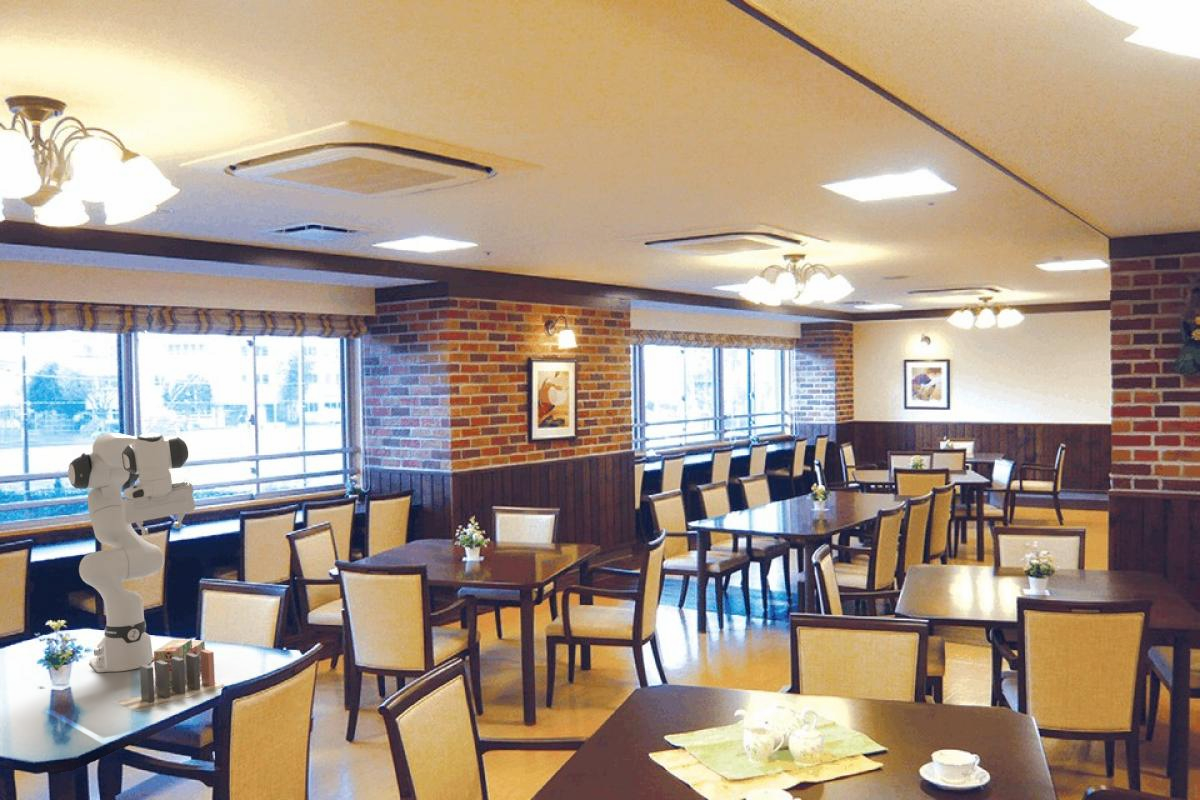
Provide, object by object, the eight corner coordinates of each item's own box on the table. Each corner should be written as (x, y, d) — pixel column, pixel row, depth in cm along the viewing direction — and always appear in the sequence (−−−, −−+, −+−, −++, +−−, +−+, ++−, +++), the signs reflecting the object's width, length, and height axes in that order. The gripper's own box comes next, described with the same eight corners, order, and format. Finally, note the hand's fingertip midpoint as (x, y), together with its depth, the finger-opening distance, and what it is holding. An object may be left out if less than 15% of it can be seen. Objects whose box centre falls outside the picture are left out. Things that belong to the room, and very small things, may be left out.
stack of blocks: (187, 669, 311) (185, 631, 311) (206, 668, 311) (204, 631, 311) (155, 691, 290) (153, 650, 290) (175, 690, 290) (173, 650, 289)
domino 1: (149, 703, 275) (147, 668, 275) (141, 699, 278) (139, 665, 278) (154, 701, 276) (153, 667, 276) (147, 698, 279) (145, 664, 279)
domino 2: (164, 698, 278) (163, 664, 278) (157, 695, 282) (155, 661, 281) (170, 697, 280) (168, 663, 279) (162, 693, 283) (161, 660, 283)
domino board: (117, 706, 277) (117, 701, 277) (204, 682, 297) (204, 678, 296) (136, 715, 268) (136, 711, 268) (225, 690, 288) (225, 686, 288)
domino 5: (209, 686, 288) (208, 653, 288) (201, 683, 292) (200, 650, 291) (214, 685, 290) (213, 652, 289) (206, 681, 293) (205, 649, 293)
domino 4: (195, 690, 285) (193, 657, 285) (187, 687, 288) (185, 654, 288) (200, 689, 286) (198, 655, 286) (192, 685, 290) (191, 652, 289)
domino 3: (180, 694, 282) (178, 660, 281) (172, 691, 285) (170, 657, 285) (185, 693, 283) (183, 659, 283) (177, 689, 286) (176, 656, 286)
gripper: (188, 479, 299) (194, 522, 301) (117, 491, 286) (123, 536, 288) (195, 482, 294) (200, 525, 296) (122, 495, 281) (128, 540, 283)
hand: (161, 531), depth 292 cm, fingers open, 8 cm apart
